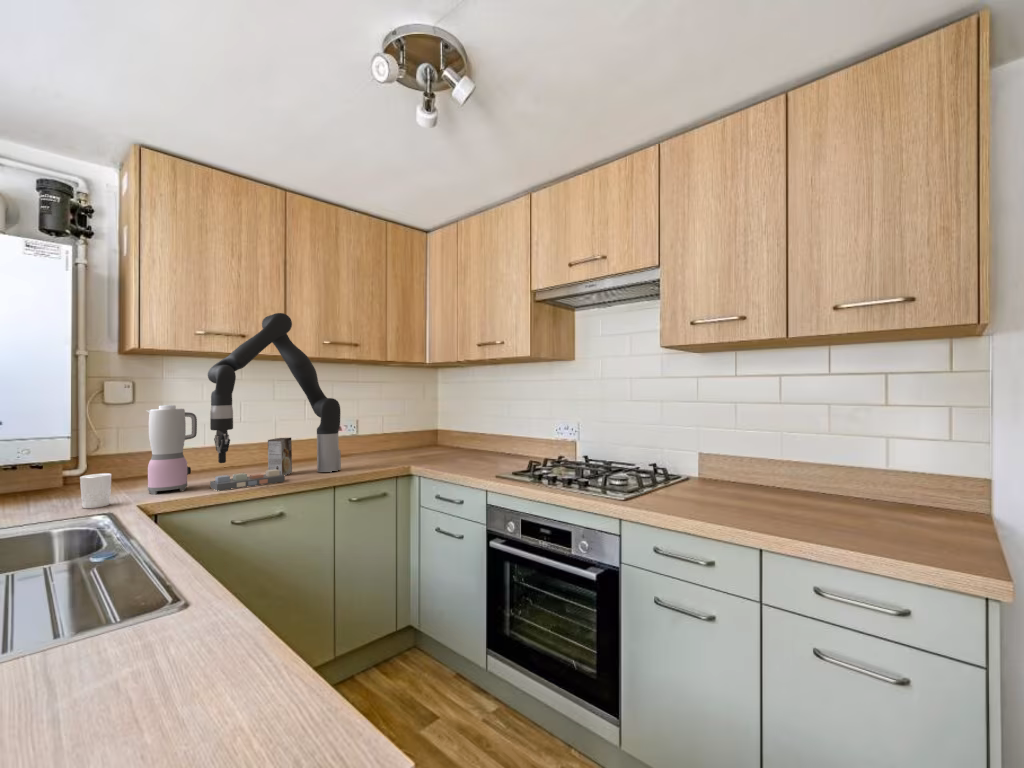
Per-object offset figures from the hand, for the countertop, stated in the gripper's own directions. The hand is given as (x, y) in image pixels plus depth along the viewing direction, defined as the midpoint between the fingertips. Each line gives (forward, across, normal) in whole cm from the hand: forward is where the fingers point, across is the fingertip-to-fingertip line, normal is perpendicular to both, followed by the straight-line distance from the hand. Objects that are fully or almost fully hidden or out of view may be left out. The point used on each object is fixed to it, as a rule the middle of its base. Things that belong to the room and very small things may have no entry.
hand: (222, 462), depth 187 cm
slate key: (+8, 0, 0) cm, 8 cm away
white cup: (+10, -2, +37) cm, 38 cm away
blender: (+10, +10, +14) cm, 20 cm away
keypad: (+10, 0, -9) cm, 13 cm away
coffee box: (+10, +14, -26) cm, 31 cm away
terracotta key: (+9, 0, -12) cm, 15 cm away
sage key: (+8, 0, -6) cm, 10 cm away
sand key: (+8, 0, -18) cm, 20 cm away
